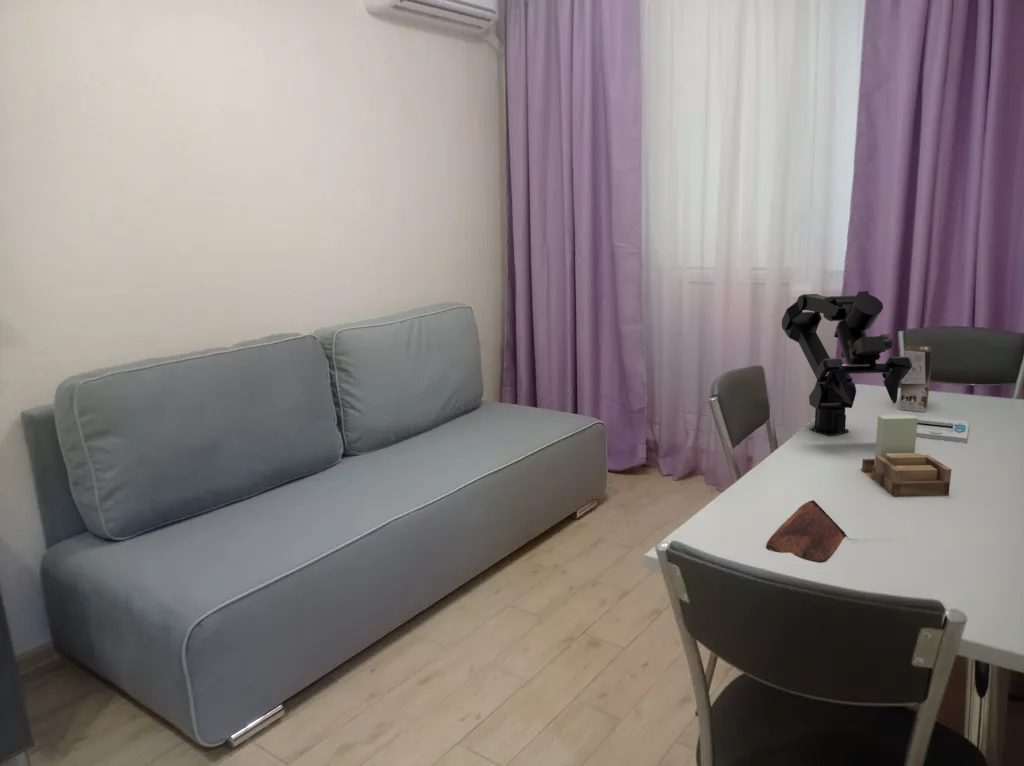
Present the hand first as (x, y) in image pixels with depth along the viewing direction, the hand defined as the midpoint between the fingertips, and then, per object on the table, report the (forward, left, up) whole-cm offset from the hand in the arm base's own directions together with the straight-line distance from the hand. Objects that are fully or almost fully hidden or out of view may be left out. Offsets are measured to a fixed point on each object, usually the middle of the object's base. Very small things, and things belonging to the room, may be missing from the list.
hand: (873, 402), depth 158 cm
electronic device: (-9, +28, -14) cm, 33 cm away
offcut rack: (+14, -7, -13) cm, 20 cm away
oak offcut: (+15, -7, -12) cm, 20 cm away
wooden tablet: (+21, -36, -14) cm, 43 cm away
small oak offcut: (+18, -9, -12) cm, 24 cm away
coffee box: (-24, +43, -13) cm, 52 cm away
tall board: (+11, -6, -12) cm, 17 cm away
